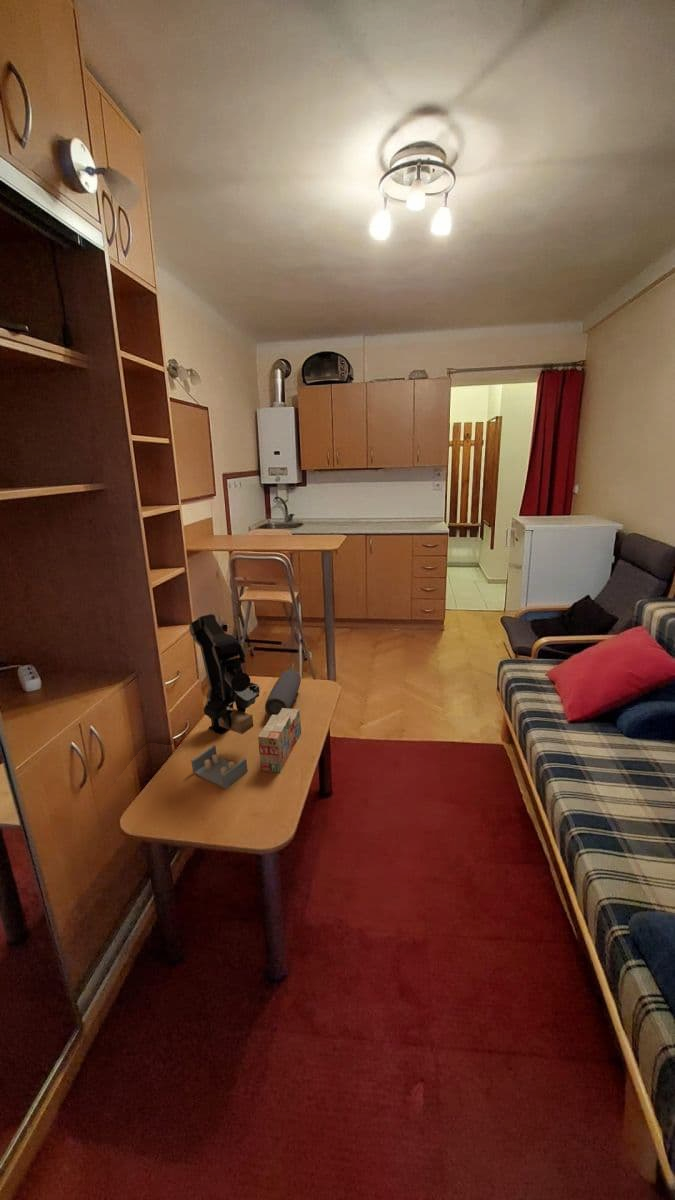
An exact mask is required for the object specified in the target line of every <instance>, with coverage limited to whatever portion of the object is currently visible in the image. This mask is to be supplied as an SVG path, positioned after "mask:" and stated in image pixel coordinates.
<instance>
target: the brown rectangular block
mask: <svg viewBox="0 0 675 1200" xmlns="http://www.w3.org/2000/svg"><path fill="white" fill-rule="evenodd" d="M229 710H232V711H233V712H232V713H231V714H230V716H231V728H229V727H228V726H227V725H226V724H225V722H224V721H223V719H222V718H219V719H218V721H219V726H221V727H224V728H226V729H228V730H229V731H232V732H234V733H237V734H241V735H244V734H245V733H246V732H248V731H249V730H251V729H252V728H253V727H254V719H253V718H254V717H253V715H252V714H249V713H247V712H245V713H244V712H241V711H238V710H237V709H236V708H233V709H232V708H230V707H229Z"/></svg>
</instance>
